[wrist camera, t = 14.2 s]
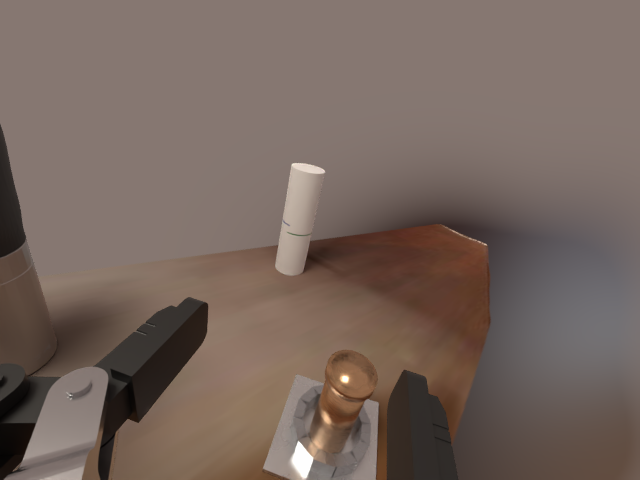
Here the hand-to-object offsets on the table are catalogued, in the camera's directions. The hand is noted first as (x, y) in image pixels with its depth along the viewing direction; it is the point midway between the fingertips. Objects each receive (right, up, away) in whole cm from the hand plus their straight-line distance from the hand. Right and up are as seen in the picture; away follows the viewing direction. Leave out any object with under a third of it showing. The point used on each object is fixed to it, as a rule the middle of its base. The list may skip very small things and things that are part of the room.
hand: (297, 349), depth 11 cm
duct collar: (+2, -21, +26) cm, 34 cm away
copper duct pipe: (+2, -21, +26) cm, 33 cm away
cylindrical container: (-7, -3, +59) cm, 60 cm away
